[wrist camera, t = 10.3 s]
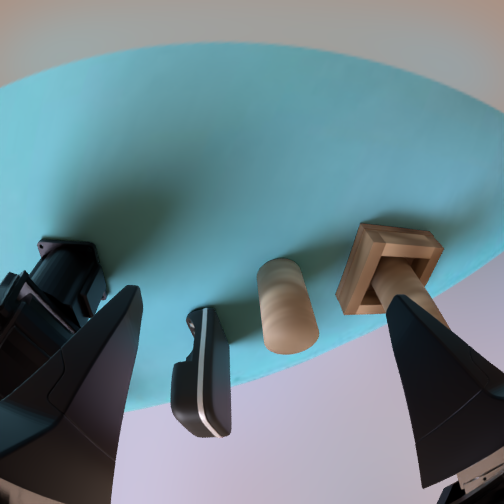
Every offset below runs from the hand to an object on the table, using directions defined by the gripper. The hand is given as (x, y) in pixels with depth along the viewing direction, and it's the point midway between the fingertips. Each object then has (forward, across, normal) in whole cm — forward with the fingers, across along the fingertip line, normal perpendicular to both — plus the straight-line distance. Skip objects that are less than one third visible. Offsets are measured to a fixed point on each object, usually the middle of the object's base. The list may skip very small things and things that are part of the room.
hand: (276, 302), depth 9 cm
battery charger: (+13, +3, +17) cm, 22 cm away
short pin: (+13, -4, +10) cm, 16 cm away
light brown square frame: (+13, -14, +8) cm, 20 cm away
